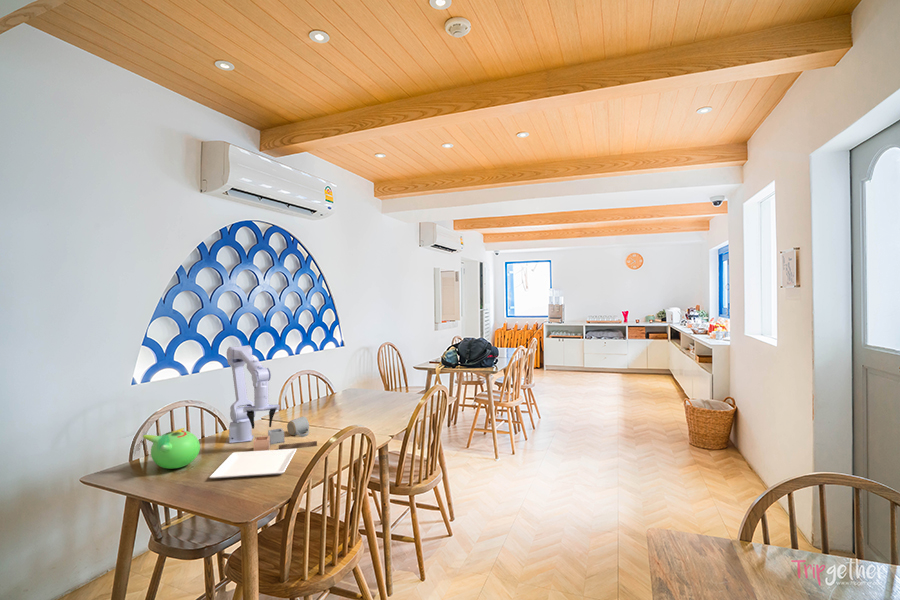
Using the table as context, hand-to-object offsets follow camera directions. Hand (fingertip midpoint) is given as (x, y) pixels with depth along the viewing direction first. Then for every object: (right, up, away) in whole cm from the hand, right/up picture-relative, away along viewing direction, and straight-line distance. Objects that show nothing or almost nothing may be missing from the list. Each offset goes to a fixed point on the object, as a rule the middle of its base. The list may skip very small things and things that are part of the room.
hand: (261, 427), depth 193 cm
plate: (+6, -11, -18) cm, 22 cm away
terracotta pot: (0, -10, 0) cm, 10 cm away
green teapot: (-27, -11, -19) cm, 34 cm away
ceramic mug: (+9, -10, +22) cm, 26 cm away
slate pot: (+2, -10, +11) cm, 15 cm away
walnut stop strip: (+15, -10, +3) cm, 18 cm away
